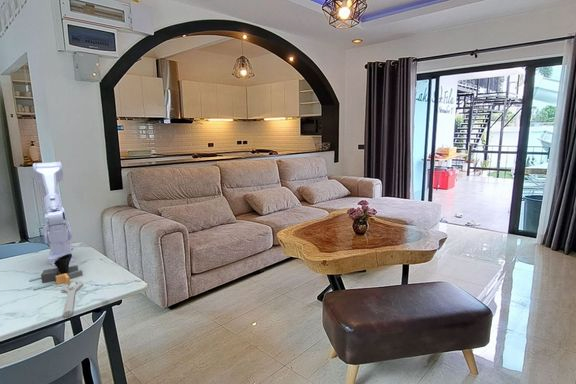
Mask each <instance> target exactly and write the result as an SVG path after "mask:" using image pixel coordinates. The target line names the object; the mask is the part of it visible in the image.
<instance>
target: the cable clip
mask: <svg viewBox="0 0 576 384" xmlns="http://www.w3.org/2000/svg"><path fill="white" fill-rule="evenodd" d="M67 275H68V276H69V278H70V280H72V279H76V278H79V277H83V270H82V269H80V270H79V267H78V264H75V265H71V266H69V269H68V273H67Z"/></svg>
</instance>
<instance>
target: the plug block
mask: <svg viewBox="0 0 576 384" xmlns="http://www.w3.org/2000/svg"><path fill="white" fill-rule="evenodd" d="M57 275H61V274H60V272H59V270H58V268H57V267H55V268H47V269H44V270H43V271H42V273H41V274H40V277H41V278H42V279H41V282H42V284H44V283H51V282H56V277H55V276H57Z"/></svg>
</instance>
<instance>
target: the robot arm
mask: <svg viewBox="0 0 576 384" xmlns="http://www.w3.org/2000/svg"><path fill="white" fill-rule="evenodd" d="M32 169H33V176H34V178H35V181H36V183H39V184H42V185H43V187H44V192H45V196H44V197H43V203H44V204H43V205H44V212H45V214H44V221H45V225H44V226H43V236H44V243H45V244H47V245H49V248H50V252H49V253H48V254H49V257H48V258H47V259H46V261H47V265H49V264H51V265H52V266H53V267H55V268H58V270H59V272H60V275H61V274H65V273H67V274H68V269H69V267H70V263H73V262H75V261H76V260H75V259H74V258H73V255H72V251H74V250H75V248H74V245H73V244H71V243H70V241H71V240H72V239H73V233H72V227H71V224H70V222H69V221H67V216H66V210H65V208H64V207H63V200H62V196H61V195H59V193H58V188H57V187H58V183H60V182H62V181H63V178H64V171H63V165H62V162H61V161H52V162H34V163H32ZM70 244H71V245H70Z"/></svg>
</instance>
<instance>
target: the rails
mask: <svg viewBox="0 0 576 384" xmlns="http://www.w3.org/2000/svg"><path fill="white" fill-rule="evenodd" d="M38 280H42V278H41V276H38V277H35V278H32V279H31V278H30V279H29V280H28V281H29V283H31V282H35V281H38ZM53 286H54V282H53V283H49V284H46V285H42V286H38V287H34V288H33V289H32V290H33V291H35V292H36V291H38V290H42V289H45V288H48V287H53Z"/></svg>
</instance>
